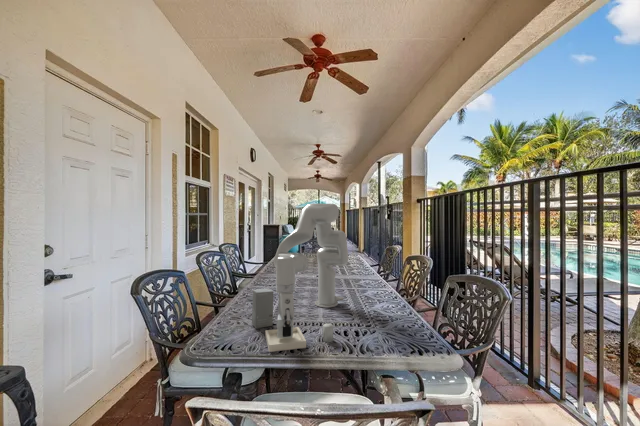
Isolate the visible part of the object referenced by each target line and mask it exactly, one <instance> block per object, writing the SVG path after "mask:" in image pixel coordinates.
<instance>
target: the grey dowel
mask: <svg viewBox="0 0 640 426" xmlns="http://www.w3.org/2000/svg"><path fill="white" fill-rule="evenodd" d="M322 341H323V342H325V343H333V342H334V325H333V324H332V323H324V324H323V325H322Z"/></svg>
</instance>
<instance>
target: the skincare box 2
mask: <svg viewBox="0 0 640 426" xmlns="http://www.w3.org/2000/svg"><path fill="white" fill-rule="evenodd" d="M284 318H286V317H284ZM290 319H291V336H289V337H283V319H282V318H281V316H280V314H278V315H277V321H276V329H277V338H292V337H293V328H294V318H293V319H292V318H291V316H290ZM285 322H286V320H285Z"/></svg>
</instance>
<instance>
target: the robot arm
mask: <svg viewBox="0 0 640 426" xmlns="http://www.w3.org/2000/svg"><path fill="white" fill-rule="evenodd" d="M339 213H340V211H339V206H338V205H337V204H336V203H309V204H307V205H305V206H304V207H303V208H302V209H301V211H300V214H299V216H298V219H297V221H296V222H297V223H296V224H295V228H294V230H293V231H292V232H291V233H290V234H288V235H287V236H286V237H285V238H284V239H283V240H281V242H280V243H279V244H278V248H276V253H275V255H274V259H273V263H274V264H273V265H274V267H275V270H276V271H275V293H277V294H278V315H280V316H281V318H282V319H283V337H289V336H291V319H290V316H291V318H292V319H293V320H294V319H295V305H294V303H295V300H294V293H295V292H296V273H301V272H302V273H303V272H304V271H305V270H306V269H307V268H308V265H309V258H308V257H307V256H306V255H305V254H303V253H296V252H295V253H293V252H289V251H290V250H291V249H292V248H295V247H296V246H299V245H301V244H304V243H306V242H309V241H310V240H312V238H313V236H314V232H315V233H316V241H317V244H318V245H319V247H321V248H318V250H317V251H316V261H317V269H318V271H317V273H318V275H317V281H318V284H317V300H315V302H314V304H315V305H316V307H320V308H326V309H327V308H335V307H337V306H338V304H339V302H340V301H344V296H337V295H336V270H335V269H334V267H333V266H337V267H344V266H346V265H347V264H348V262H349V249H348V240H347V234H346V233H345V232H344V231H343V230H341V229H339V230H338V229H337V230H336V229H332V228H333V227H332V223H333V222H335V221H336V220H337V219H338V218H339ZM284 317H286V318H284ZM285 320H286V322H285Z"/></svg>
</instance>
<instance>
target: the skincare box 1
mask: <svg viewBox="0 0 640 426" xmlns="http://www.w3.org/2000/svg"><path fill="white" fill-rule="evenodd" d="M251 304H252V305H251V306H252V307H251V308H252V311H251V324H252V326H254V329H262V328H266V327H273V325H274V324H273V323H274V290H272V289H270V288H259V289H252V303H251Z"/></svg>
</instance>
